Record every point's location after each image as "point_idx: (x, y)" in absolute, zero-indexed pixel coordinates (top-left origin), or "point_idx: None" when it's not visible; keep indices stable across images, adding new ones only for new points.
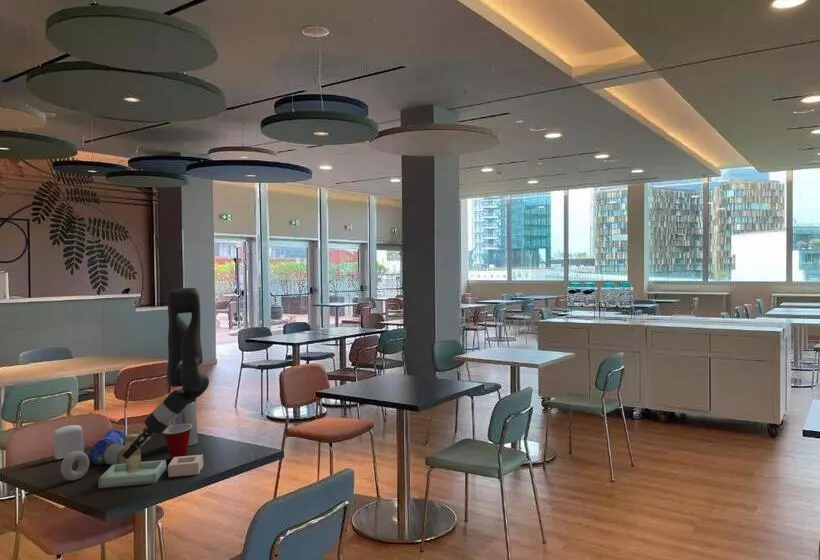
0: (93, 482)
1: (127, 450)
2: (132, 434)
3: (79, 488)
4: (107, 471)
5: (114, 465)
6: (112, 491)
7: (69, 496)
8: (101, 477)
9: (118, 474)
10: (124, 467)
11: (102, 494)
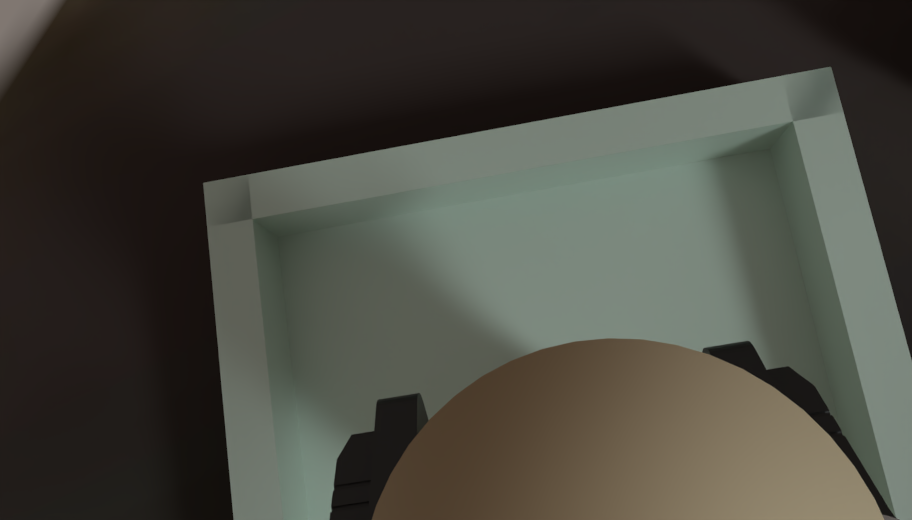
0: (462, 50)
1: (371, 511)
2: (880, 518)
3: (285, 3)
4: (512, 146)
5: (784, 111)
6: (111, 429)
7: (62, 33)
8: (270, 190)
9: (612, 258)
10: (808, 247)
11: (40, 357)
